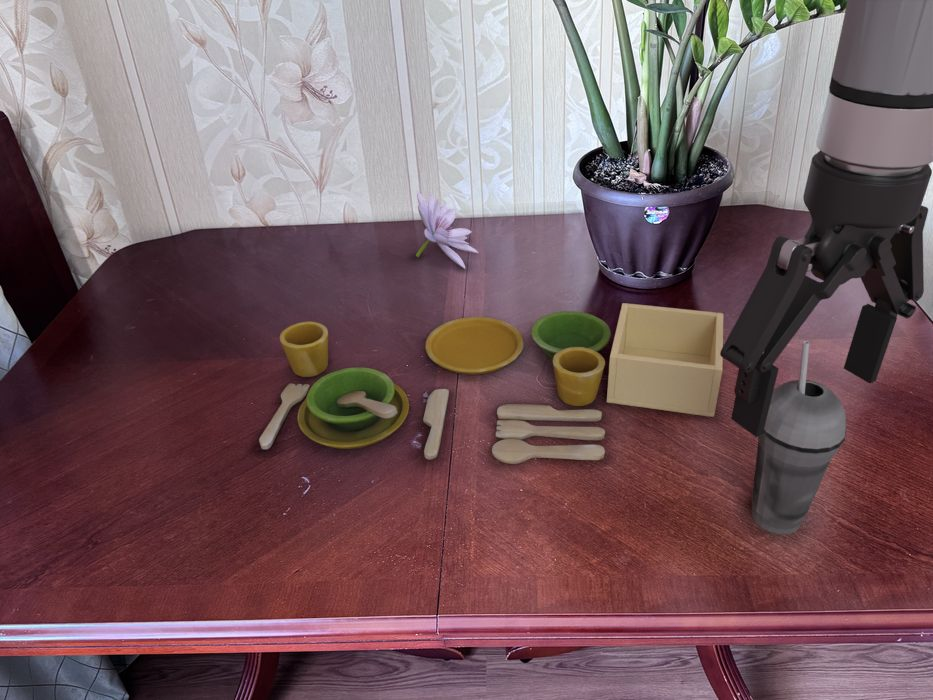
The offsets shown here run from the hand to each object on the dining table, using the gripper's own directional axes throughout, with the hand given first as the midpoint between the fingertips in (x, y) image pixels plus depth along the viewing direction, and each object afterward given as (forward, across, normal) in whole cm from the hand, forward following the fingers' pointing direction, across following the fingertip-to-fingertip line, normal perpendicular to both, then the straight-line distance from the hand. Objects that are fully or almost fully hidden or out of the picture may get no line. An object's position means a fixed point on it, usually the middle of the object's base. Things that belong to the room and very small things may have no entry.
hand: (805, 399), depth 62 cm
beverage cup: (+14, 0, 0) cm, 15 cm away
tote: (+14, -6, -22) cm, 27 cm away
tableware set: (+15, +17, -36) cm, 43 cm away
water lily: (+15, +1, -66) cm, 68 cm away
